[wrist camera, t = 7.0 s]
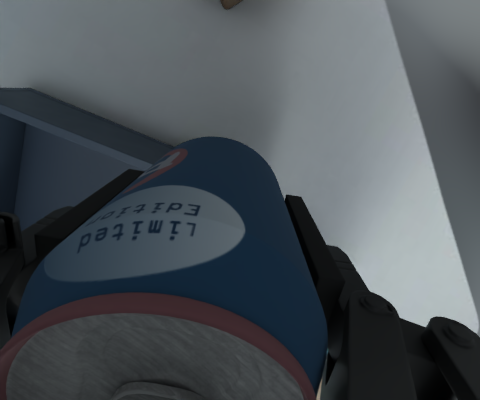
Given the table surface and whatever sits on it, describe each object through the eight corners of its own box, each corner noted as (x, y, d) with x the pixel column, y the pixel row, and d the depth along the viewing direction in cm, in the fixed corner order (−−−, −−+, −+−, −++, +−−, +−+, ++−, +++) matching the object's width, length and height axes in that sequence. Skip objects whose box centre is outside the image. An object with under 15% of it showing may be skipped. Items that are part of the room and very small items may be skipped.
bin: (9, 237, 36) (-51, 275, 29) (29, 87, 30) (-43, 86, 22) (208, 304, 40) (200, 354, 33) (266, 184, 33) (272, 211, 26)
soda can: (166, 116, 14) (-100, 211, 3) (294, 152, 15) (443, 337, 4) (147, 232, 17) (-42, 510, 6) (257, 258, 17) (282, 558, 6)
